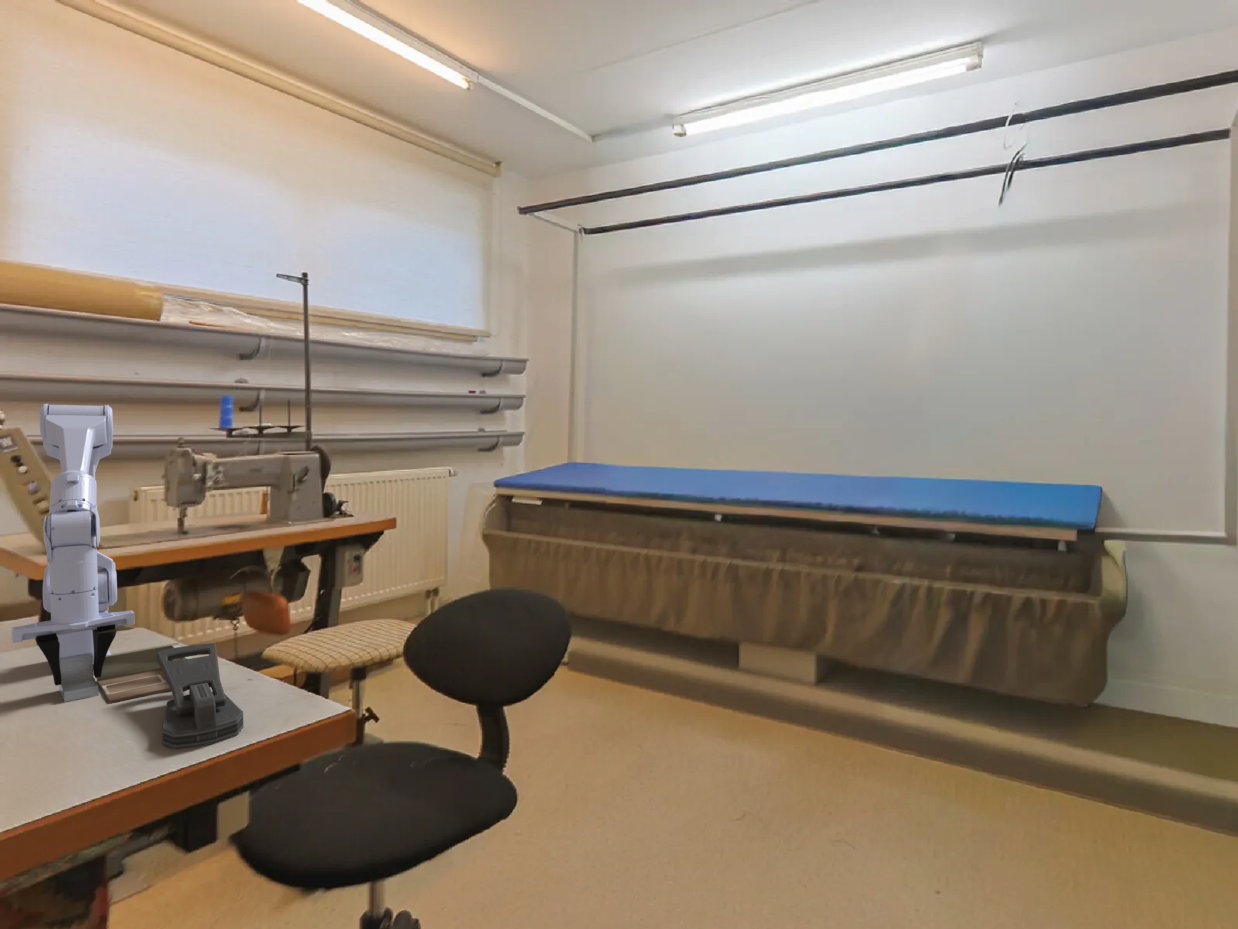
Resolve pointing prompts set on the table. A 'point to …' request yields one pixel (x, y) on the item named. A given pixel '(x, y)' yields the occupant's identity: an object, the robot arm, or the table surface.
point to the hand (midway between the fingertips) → (77, 680)
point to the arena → (134, 674)
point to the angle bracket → (77, 677)
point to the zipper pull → (196, 699)
